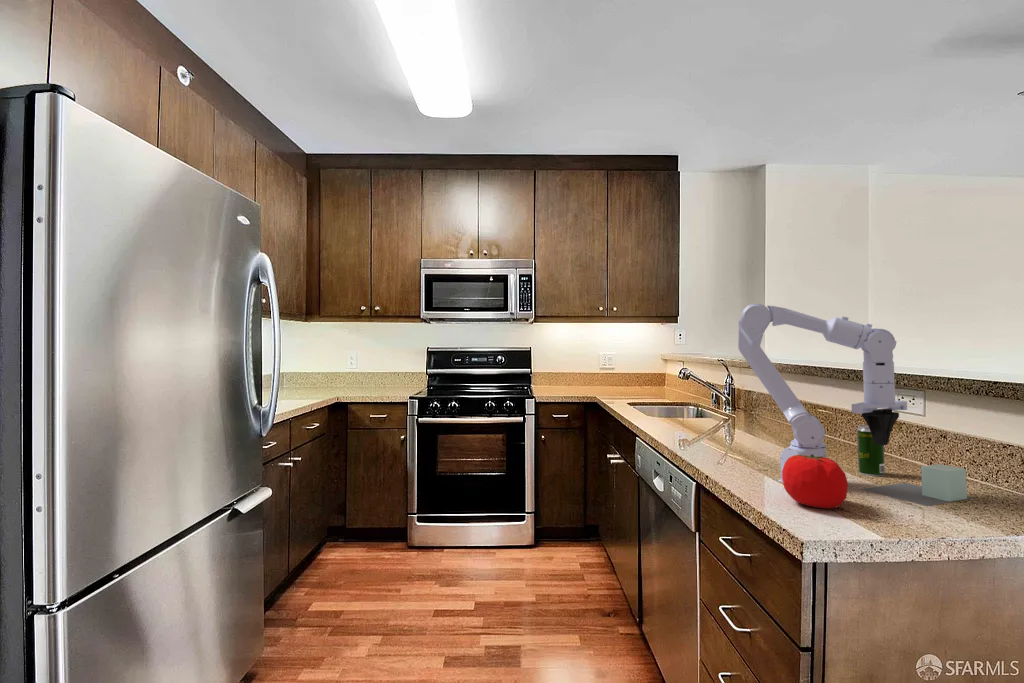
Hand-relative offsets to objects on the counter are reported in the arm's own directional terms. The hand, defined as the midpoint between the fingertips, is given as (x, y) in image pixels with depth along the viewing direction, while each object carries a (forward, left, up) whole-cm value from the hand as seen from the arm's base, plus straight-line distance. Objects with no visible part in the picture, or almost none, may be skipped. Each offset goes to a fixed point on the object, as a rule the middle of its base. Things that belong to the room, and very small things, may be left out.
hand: (881, 444), depth 118 cm
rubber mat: (+1, -6, -10) cm, 12 cm away
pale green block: (+4, -10, -10) cm, 14 cm away
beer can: (+10, +10, -10) cm, 17 cm away
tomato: (-23, -3, -10) cm, 25 cm away
